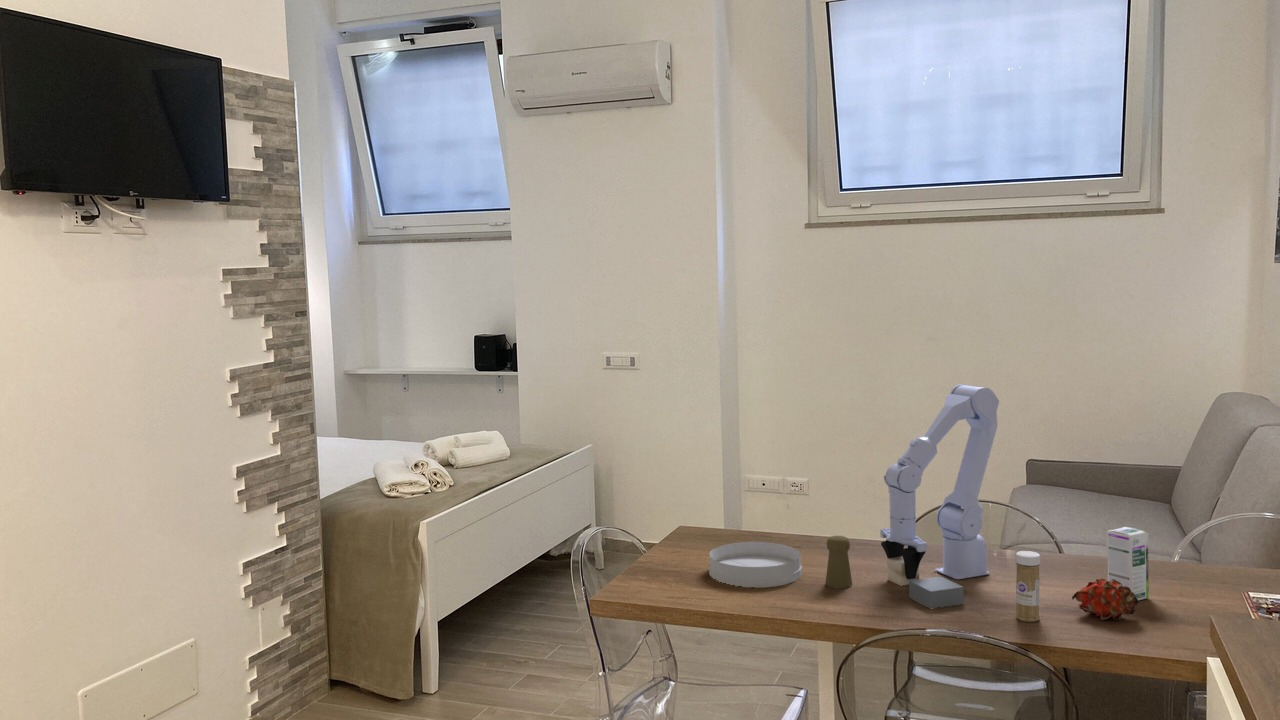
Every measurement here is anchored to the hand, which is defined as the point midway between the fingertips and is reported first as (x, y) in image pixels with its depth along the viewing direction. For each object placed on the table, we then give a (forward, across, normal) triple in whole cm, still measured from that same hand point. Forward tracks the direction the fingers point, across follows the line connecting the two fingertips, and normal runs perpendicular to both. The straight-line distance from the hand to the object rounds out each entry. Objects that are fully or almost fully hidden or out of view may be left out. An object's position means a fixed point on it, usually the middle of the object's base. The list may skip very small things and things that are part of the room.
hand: (903, 575), depth 217 cm
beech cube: (+1, 0, 0) cm, 1 cm away
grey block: (+2, +14, -2) cm, 14 cm away
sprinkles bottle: (+2, +31, +7) cm, 32 cm away
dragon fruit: (+2, +37, +21) cm, 43 cm away
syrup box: (+2, +30, +35) cm, 46 cm away
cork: (+2, -5, -14) cm, 15 cm away
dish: (+2, -21, -27) cm, 34 cm away
